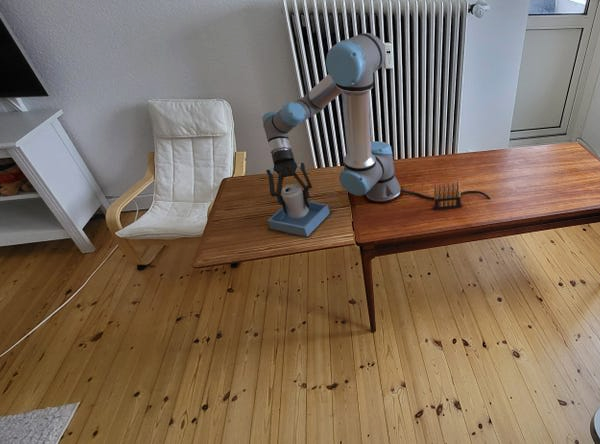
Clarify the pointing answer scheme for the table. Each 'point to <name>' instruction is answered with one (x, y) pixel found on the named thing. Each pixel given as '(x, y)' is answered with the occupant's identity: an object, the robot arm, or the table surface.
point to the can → (294, 201)
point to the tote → (300, 220)
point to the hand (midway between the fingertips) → (296, 209)
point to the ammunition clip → (451, 199)
